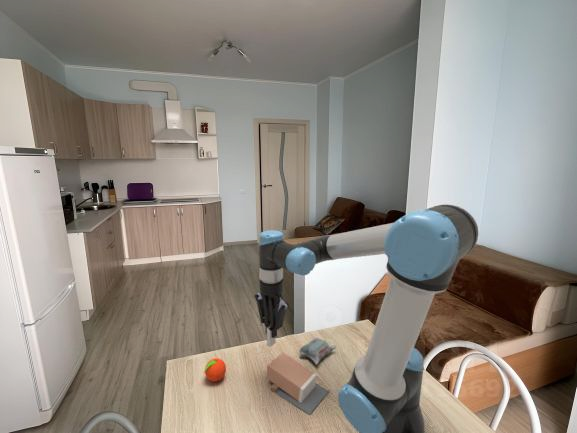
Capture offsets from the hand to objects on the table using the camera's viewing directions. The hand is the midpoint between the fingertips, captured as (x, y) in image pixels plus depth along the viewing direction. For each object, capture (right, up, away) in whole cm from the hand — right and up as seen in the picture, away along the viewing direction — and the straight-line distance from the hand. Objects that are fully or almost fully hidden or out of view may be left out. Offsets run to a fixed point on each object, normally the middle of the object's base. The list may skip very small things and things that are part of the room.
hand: (271, 344), depth 99 cm
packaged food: (+17, -10, +12) cm, 23 cm away
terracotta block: (+1, -7, 0) cm, 7 cm away
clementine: (-19, -12, 0) cm, 22 cm away
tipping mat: (+10, -13, -5) cm, 17 cm away
